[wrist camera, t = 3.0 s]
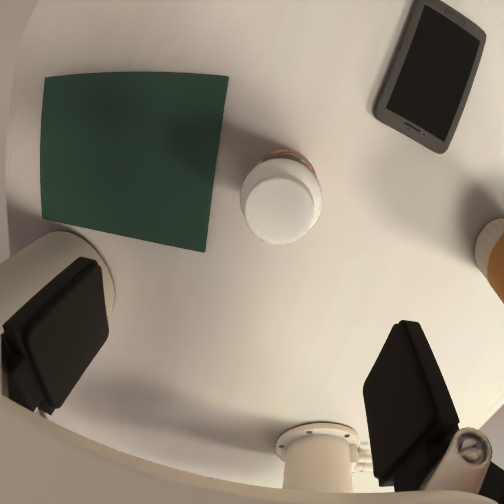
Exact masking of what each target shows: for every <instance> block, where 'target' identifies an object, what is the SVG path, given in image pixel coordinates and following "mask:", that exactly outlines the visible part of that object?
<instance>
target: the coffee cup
mask: <svg viewBox="0 0 504 504" xmlns="http://www.w3.org/2000/svg"><path fill="white" fill-rule="evenodd" d="M475 261H476V264H477V267H478V268H479V270H480V271H481V272H482V274H483V275H484V276H485V277H486V279H487V280H488V281H489V284H490V285H491V287H492V288H493V289H494V291H495V292H496V293H497V295H498V296H499V298H500V299H501V300H502V302H503V303H504V218H499V219H495V220H492V221H491V222H489V223H488V224H486V225H485V227H484V228H483V229H482V230H481V232H480V234H479V235H478V238H477V240H476V243H475Z"/></svg>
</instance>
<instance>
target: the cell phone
mask: <svg viewBox="0 0 504 504" xmlns="http://www.w3.org/2000/svg"><path fill="white" fill-rule="evenodd" d="M485 41H486V34H485V32H484V31H483V30H482V29H481V28H480V27H479V26H477V25H476V24H475V23H473V22H472V21H471V20H469V19H468V18H466V17H465V16H463V15H462V14H461V13H459V12H458V11H456V10H455V9H453V8H452V7H450V6H448V5H447V4H445V3H444V2H442V1H440V0H416V3H415V5H414V8H413V11H412V14H411V17H410V20H409V22H408V25H407V28H406V30H405V33H404V36H403V39H402V41H401V44H400V46H399V49H398V52H397V54H396V57H395V60H394V62H393V65H392V67H391V70H390V72H389V75H388V77H387V80H386V82H385V85H384V87H383V90H382V92H381V95H380V97H379V100H378V102H377V105H376V108H375V116H376V118H377V119H378V120H379V121H381V122H382V123H384V124H386V125H388V126H390V127H392V128H393V129H395V130H397V131H399V132H401V133H403V134H404V135H406V136H408V137H410V138H411V139H413V140H415V141H417V142H418V143H420V144H422V145H423V146H425V147H427V148H428V149H430V150H432V151H434V152H436V153H439V154H442V153H444V152H445V151H446V150H447V149H448V147H449V144H450V142H451V140H452V138H453V135H454V133H455V130H456V128H457V125H458V123H459V120H460V118H461V115H462V112H463V110H464V107H465V104H466V101H467V99H468V96H469V93H470V90H471V87H472V84H473V81H474V78H475V75H476V72H477V69H478V66H479V62H480V59H481V56H482V52H483V49H484V45H485Z"/></svg>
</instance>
